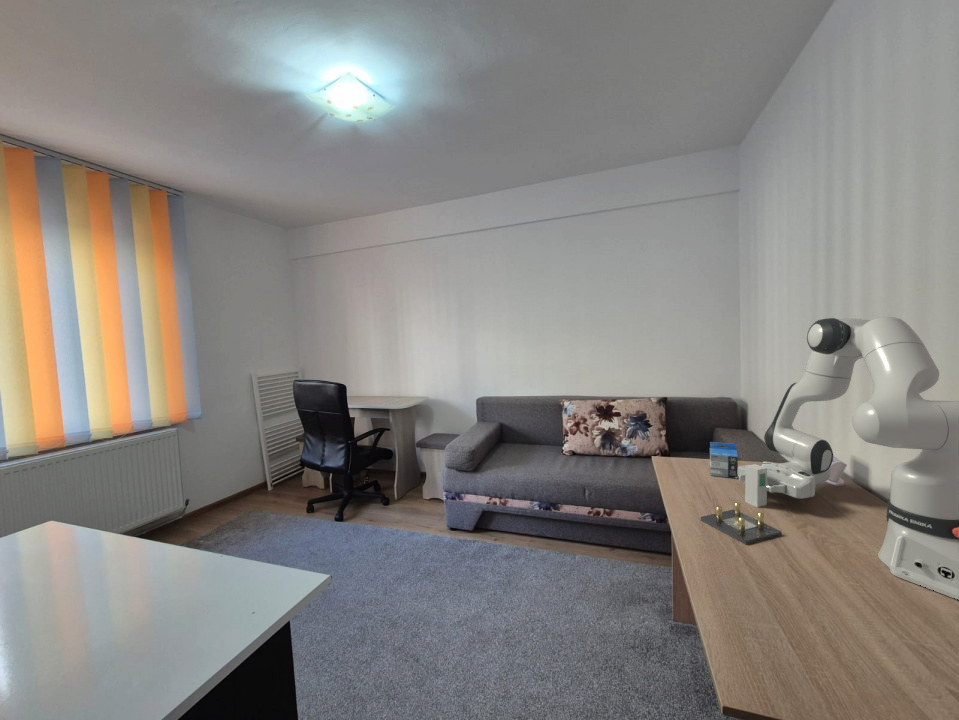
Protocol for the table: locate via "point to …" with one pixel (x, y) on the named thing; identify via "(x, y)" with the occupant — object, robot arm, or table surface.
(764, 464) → the hard drive
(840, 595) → the table surface
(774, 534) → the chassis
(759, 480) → the block
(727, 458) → the label tape box
